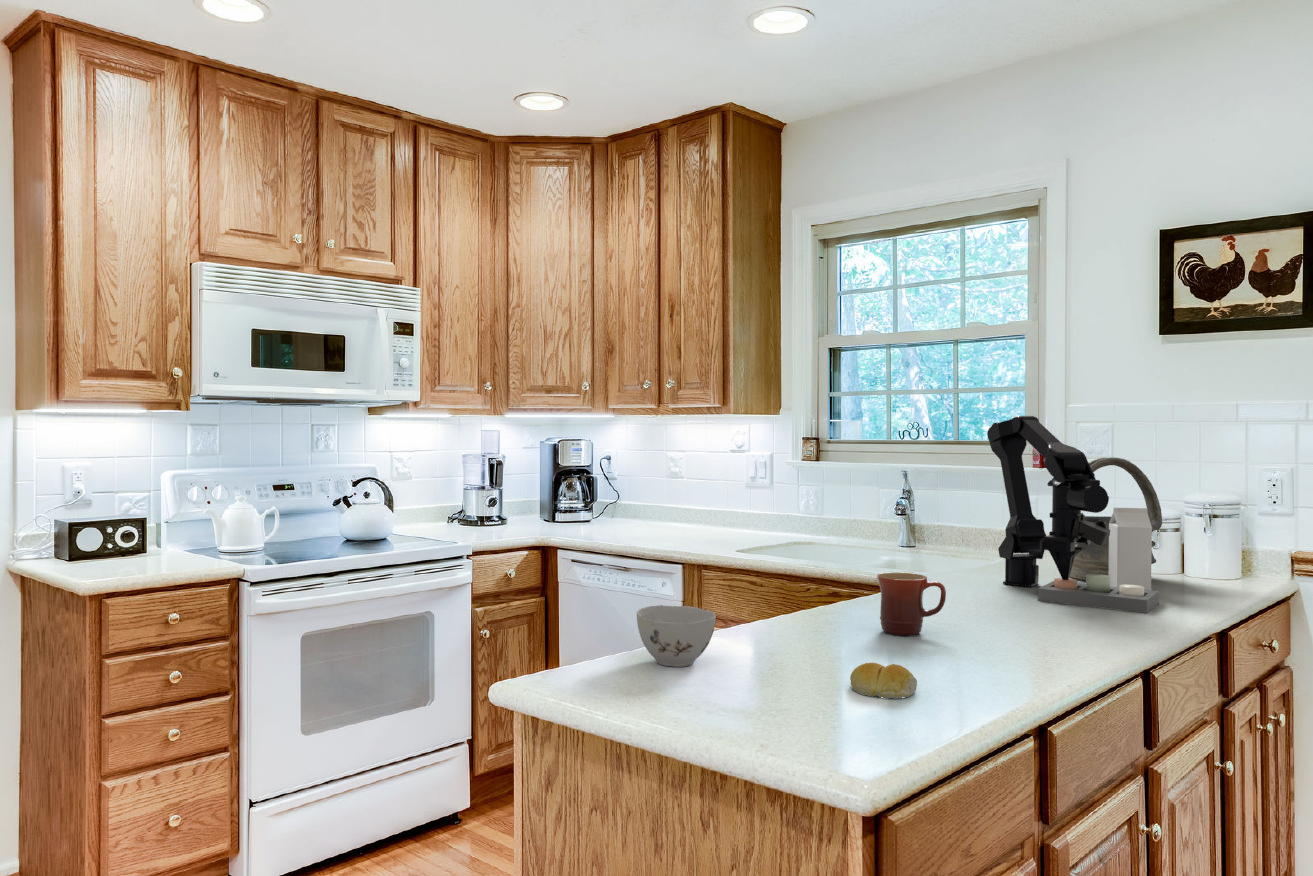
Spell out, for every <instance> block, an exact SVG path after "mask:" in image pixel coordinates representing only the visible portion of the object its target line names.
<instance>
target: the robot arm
mask: <svg viewBox="0 0 1313 876" xmlns="http://www.w3.org/2000/svg"><path fill="white" fill-rule="evenodd" d="M986 434H987V435H986V436H987V440H988V442H989V447H990V449H991V451H992V452H993V454H994V455H995V456H996V457H997V458H998V459H999V460H1000V461H999V462H1000V465H1001V471H1002V472H1001V473H1002V476H1003V482H1004V488H1005V494H1006V495H1005V496H1006V500H1007V506H1008V512H1009V521H1008V522H1007V524H1006V527H1005V530H1004V531H1005V537H1004V539H1003V541H1002V542H1001V544H1000V545H999V547H997V548H998V550H997V551H998V554H999V558H1002V559H1004V560H1005V563H1004V564H1005V565H1004V566H1005V575H1004V576H1005V577H1004V578H1005V579H1004V581H1002V584H1003V585H1011V586H1012V585H1013V586H1020V587H1031V588H1032V587H1033V586H1036V585H1038V584H1039V576H1040V575H1039V574H1040V573H1039V572H1040V571H1039V568H1040V567H1039V565H1038V564H1037V560H1043V558H1044V554H1045V551H1048V552H1049V554H1050V556H1051V557H1052V560H1053V562H1054V563H1055V564H1054V565H1056V568H1057V571H1058V572H1059V574H1060V578H1062V579H1063V580H1068V579H1070V577H1069V576H1070V573H1071V569H1072V566H1073V562H1074V559H1075V556H1076V555H1077V554H1078V553H1079V552H1080V551H1082V550H1083V549H1084V548H1083V547H1077V544H1075V543H1076V542H1078V543H1085V544H1087V545H1088V544H1091V541H1092V542H1094V544H1097V545H1100V546H1102V545H1103V544H1105V543H1106V541H1107V538H1108V536H1110V529H1108V527H1107V523H1106V522H1104V521H1101V520H1100V521H1098V522H1096V523H1095V524H1094V523H1092V522H1088V521H1085V516H1086V515H1085V514H1084V513H1083V512H1087V513H1088V512H1089V513H1094V514H1097V513H1102V512H1103V511H1104V510H1105V509H1106V508H1107V507H1108V505H1109V499H1110V497H1109V494H1108V492H1107V491H1106V489H1105V488H1104V487H1103V486H1101V481H1100V479H1096V476H1095V475H1096V474H1095V473H1094V472H1093V471H1092V470H1091V467H1090V465H1089V461H1088V458H1087V456H1086V453H1084V452H1083V451H1081V450H1079V449H1078V448H1076V447H1074V446H1071V445H1067V444H1064V443H1063V442H1061V441H1060V440H1059V439H1058V438H1057V437H1056V436H1055V435H1054V434H1053V433H1051V431H1049V430H1048V429H1047V428H1046V427H1045V426H1044V425H1043V424H1042V423H1041V422H1040V420H1039V418H1038V417H1037V416H1035V415H1017V416H1014V417H1012V418H1011V419H1008V420H1004V421H1000V422H993V424H991V426H990V427H989V428H988V430H987V433H986ZM1027 442H1028V443H1029V444H1030V445H1031V447H1032V448H1033V449H1035V450H1036V451H1037V452H1038V454H1040V456H1042V457H1043V459H1044V460H1043V466H1044V467H1045V469H1046V470H1047V472H1048V473H1049V475H1050V476H1052V477H1053V478H1051V480H1049V481H1048V482H1047V486H1048V487H1052V496H1051V497H1052V499H1051V501H1052V502H1051V503H1052V504H1051V505H1052V508H1051V509H1052V510H1051V512H1049V518H1051V530H1050V531H1049V535H1047V534H1046V531H1045V526H1044V521H1043V520H1042V519H1038V518H1036V517H1035V516H1034V514H1033V511H1032V504H1031V499H1030V494H1029V487H1028V483H1027V477H1026V473H1025V466H1024V460H1023V454H1024V452H1025V449H1026V447H1027Z"/></svg>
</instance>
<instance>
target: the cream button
mask: <svg viewBox="0 0 1313 876" xmlns="http://www.w3.org/2000/svg"><path fill="white" fill-rule="evenodd" d="M1119 594H1123V595H1132V596H1141V597H1144V587H1143V586H1138V585H1119Z"/></svg>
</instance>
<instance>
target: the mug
mask: <svg viewBox="0 0 1313 876" xmlns="http://www.w3.org/2000/svg"><path fill="white" fill-rule="evenodd" d="M876 577H877V581H878V585H879V589H880V614H879V615H880V617H879V620H880V625H881V629H882V631H883V632H885V634H887V635H888V634H889V635H891V634H892V635H893V636H897V635H898V636H899V637H912V636H911V635H913V636H917V635H918V634H920V633H921V632H922V629H923V623H924V618H927V617H928V618H929V617H932V616H935V615H936V614H938V613H940V611H942V609H943V608H944V606H945V603H946V599H947V598H946V597H947V589H946V587H945V585H944V584H942V582H939V581H936V580H935V581H934V580H928V577H927V576H926V575H923V574H919V573H913V572H900V571H899V572H898V571H897V572H895V571H894V572H890V571H889V572H881V573H877V575H876ZM930 587H938V589H940V598H939V602H938V604H937V606H936V607H934V608H930V609H926V608H924V604H923V597H924V596H923V594H924V591H925V590H927V589H928V588H930ZM916 634H917V635H916Z"/></svg>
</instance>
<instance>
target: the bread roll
mask: <svg viewBox="0 0 1313 876" xmlns="http://www.w3.org/2000/svg"><path fill="white" fill-rule="evenodd" d="M849 678H850V686H851V688H852V689H853V690H854V691H855V692H856V693H857V692H858V693H857V694H859V693H860V695H862V694H863V696H866V695H867V697H871V696H875V697H879V698H880V697H883V698H902V697H907V696H909V697H911V696H910V695H912V694H913V692H914V691H915V692H916V691H917V686H918V679H917V678H916V677H915V676H914V674H913V673H912V672H911V671H910V670H909V669H907V668H906V667H904V666H902V665H900V664H895V663H892V664H888V665H886V666H884V665H882V664H880V663H877V662H866V663H863V664H860V665H858V666H856V667H855V668H854V669H853V670H852V672H851V673H850V677H849ZM913 695H914V694H913ZM913 695H912V696H913ZM883 698H882V699H883Z"/></svg>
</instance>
